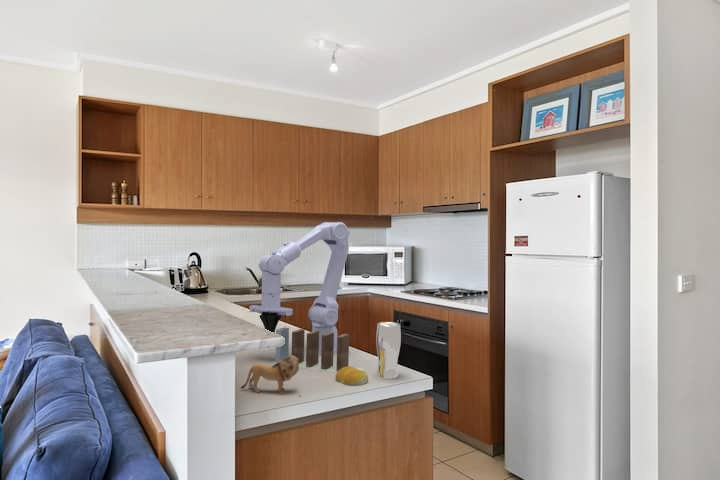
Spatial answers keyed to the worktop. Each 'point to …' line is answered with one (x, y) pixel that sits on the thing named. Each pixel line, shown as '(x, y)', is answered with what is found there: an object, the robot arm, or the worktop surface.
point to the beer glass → (388, 349)
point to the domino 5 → (342, 351)
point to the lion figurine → (273, 373)
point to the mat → (318, 367)
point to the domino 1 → (283, 350)
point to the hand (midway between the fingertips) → (270, 336)
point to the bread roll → (351, 376)
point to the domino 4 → (327, 350)
